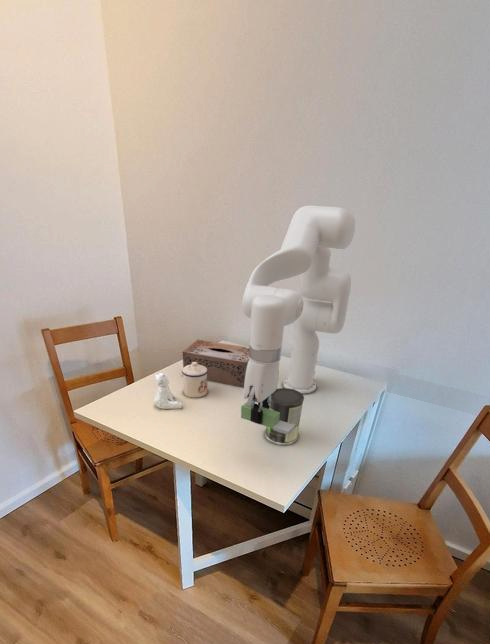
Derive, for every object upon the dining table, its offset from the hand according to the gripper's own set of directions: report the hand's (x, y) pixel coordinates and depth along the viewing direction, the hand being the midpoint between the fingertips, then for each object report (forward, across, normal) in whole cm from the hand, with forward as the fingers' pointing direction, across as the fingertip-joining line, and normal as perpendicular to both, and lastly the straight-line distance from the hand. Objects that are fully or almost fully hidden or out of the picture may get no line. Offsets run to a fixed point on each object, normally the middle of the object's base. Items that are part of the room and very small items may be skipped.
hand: (259, 419), depth 102 cm
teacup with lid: (+14, -25, -40) cm, 49 cm away
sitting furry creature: (+14, -10, -42) cm, 46 cm away
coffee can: (+14, -16, 0) cm, 22 cm away
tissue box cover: (+14, -42, -41) cm, 61 cm away
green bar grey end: (+1, 0, +2) cm, 2 cm away
